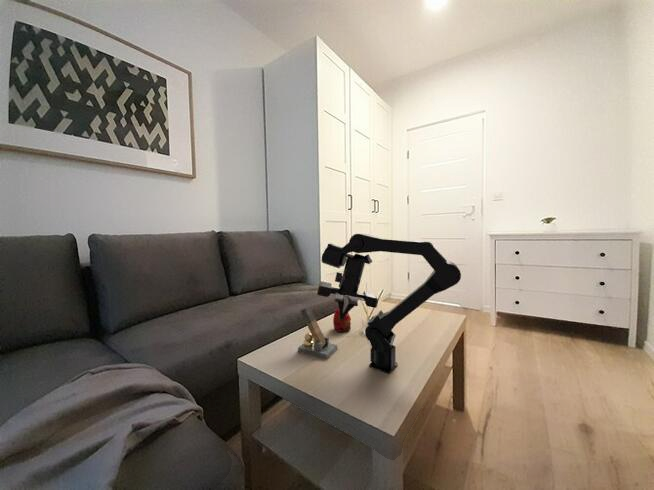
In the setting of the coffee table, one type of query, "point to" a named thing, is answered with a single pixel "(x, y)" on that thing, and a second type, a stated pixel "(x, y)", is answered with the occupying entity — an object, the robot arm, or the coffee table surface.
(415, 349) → the coffee table surface
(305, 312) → the lever
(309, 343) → the base
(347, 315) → the decorative doll
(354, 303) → the robot arm
